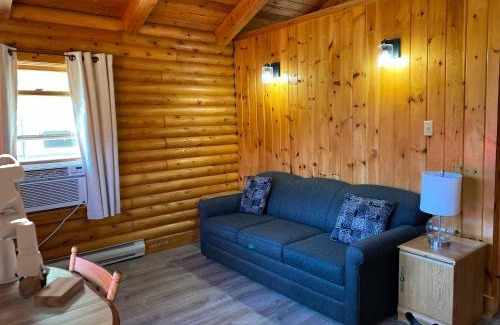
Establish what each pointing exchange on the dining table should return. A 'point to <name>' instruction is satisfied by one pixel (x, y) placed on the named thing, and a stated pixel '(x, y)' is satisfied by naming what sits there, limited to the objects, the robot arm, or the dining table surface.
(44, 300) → the walnut block
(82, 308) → the dining table surface
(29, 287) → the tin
